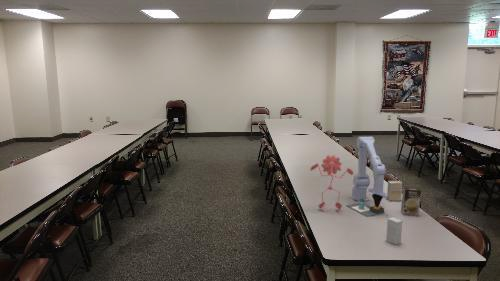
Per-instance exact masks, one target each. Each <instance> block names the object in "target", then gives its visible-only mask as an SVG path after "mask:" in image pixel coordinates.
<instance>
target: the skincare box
mask: <svg viewBox="0 0 500 281" xmlns="http://www.w3.org/2000/svg"><path fill="white" fill-rule="evenodd" d="M386 223H387V224H386V236H385V237H386V238H385V240H386V241H387V242H389V243H392V244H394V245H398V244H400V243H401V242H402V234H403V220H401V219H398V218H396V217H393V216H392V217H390V218H387V222H386Z"/></svg>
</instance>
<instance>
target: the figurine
mask: <svg viewBox="0 0 500 281" xmlns="http://www.w3.org/2000/svg"><path fill="white" fill-rule="evenodd" d="M340 160H341V158H340V157H339V156H337V157H336V155H334V154H333V155H331V156H330V155H328V154H327V156H325V158H323V159H322V163H321V165H319V163H315V164H313V165H312V166H311V167H310V170H309V171H310V172H311V171H314V170H315V169H317V168H318V170H319V173H320V175H321V177H327V176H328V177H329V176H330V177H331V181H330V185H329V186H328V187H327V188H326V189H325V190H324V191H322V192H321V199H322V200H321V201H322V202H321V203H319V204H318V205H315V207H316V206H318V208H319V210H320V209H322V212H323V213H324V210H325V207H324V206H325V205H326V206H327V205H328V206H329V205H330V204H328V203H326V202H325V201H324V196H323V195H324V193H325V191H327V190H330V191H332V190H334V191H336V192H337V193H338V195H340V194H341V193H340V191H338V190H336V189H334V188H333V186H332V183H333V180H334V178H338V179H342V178H343V176H344V175H345V174H346V173H348V174H349V175H351V176H354V171H353V170H352V169H351V168H349V167H347V168H346V170H345V171H344V172H343V173H342V174H341V176H340V177H339V176H337V171H338V172H339V171H342V168H341V166H342V162H341V161H340ZM320 166H321V168H322V171H323V172H324V173H325V172H326V173H327V174H323V173H322V171H321V168H320ZM339 200H340V196H338V198H337V202H336V203H335V204H334V206H335V207H336V209H337V213H338V214H339V210H341V208H342V206H343V205H342V204H341V203H340V202H339Z"/></svg>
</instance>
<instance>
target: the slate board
mask: <svg viewBox="0 0 500 281" xmlns="http://www.w3.org/2000/svg"><path fill="white" fill-rule="evenodd" d="M345 206H346V207H347V208H349V209H350V210H353V211H354V212H357V213H358V214H360V215H363V216H364V217H366V218H368V217H374V216H379V215H385V214H386V212H385V208H383V207H382V206H380V207H381V209H378V210H376V209H374V208H373V206H374V205H373V206H372V205H370V204H368V203H366V202H364V209H359V202H357V203H349V204H345Z"/></svg>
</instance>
